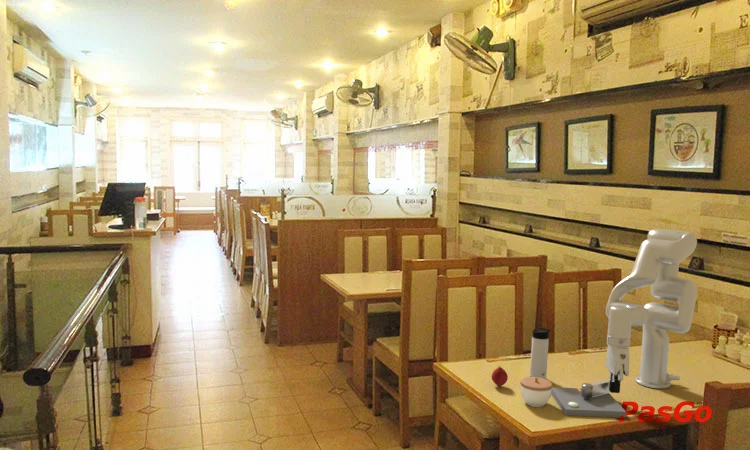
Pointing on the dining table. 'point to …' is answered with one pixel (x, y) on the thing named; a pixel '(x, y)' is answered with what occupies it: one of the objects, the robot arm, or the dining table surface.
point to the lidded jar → (536, 391)
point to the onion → (499, 376)
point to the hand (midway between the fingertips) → (614, 391)
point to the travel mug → (539, 353)
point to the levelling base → (586, 403)
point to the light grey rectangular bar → (595, 388)
